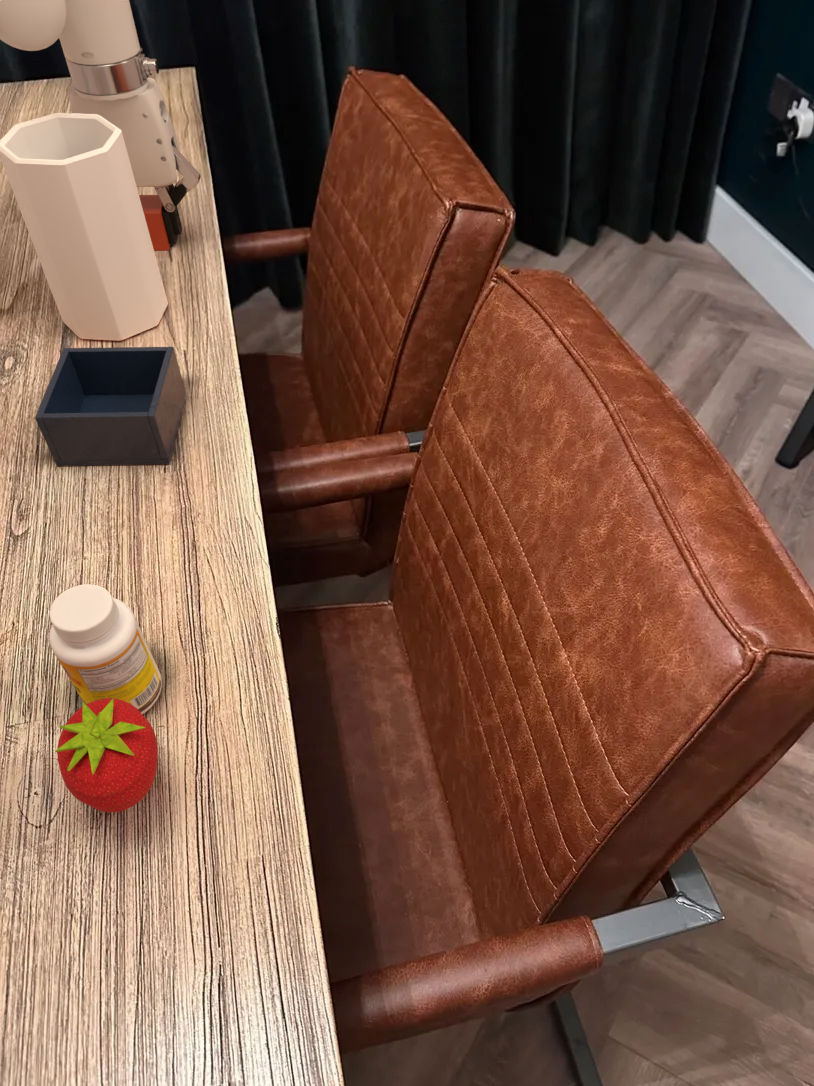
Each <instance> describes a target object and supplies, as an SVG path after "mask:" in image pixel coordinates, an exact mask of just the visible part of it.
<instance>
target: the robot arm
mask: <svg viewBox="0 0 814 1086" xmlns="http://www.w3.org/2000/svg"><path fill="white" fill-rule="evenodd" d="M135 24H136V23H135V20H134V16H133V11H132V7H131V2H130V0H0V41H1V42H3V43H4V44H6V45H8V46H10V47H12V48H15V49H18V50H21V51H28V52H35V51H36V52H37V51H41V50H45V49H48V48H49V47H50V46H52V45H54V44H55V43H56V42H57V40H59V41H60V46H61V48H62V52H63V55H64V58H65V62H66V66H67V68H68V72H69V75H70V78H71V83H70V84H69V87H68V95H69V103H70V104H69V105H70V113H77V114H97V115H100V116H102V117H103V118H104V119H106V120H107V121H109V122H110V123H112V124H113V125H115V126H116V127H117V128H119V129H120V130H121V131H122V134H123V138H124V142H125V146H126V149H127V153H128V157H129V160H130V164H131V168H132V171H133V175H134V179H135V183H136V186H137V188H154V190H155V192H156V195H158V196H159V198H160V200H161V202H162V204H163V212H162V217H163V221H164V225H165V229H166V233H167V237H168V241H169V244H171V245H170V246H176V245H177V242H178V240H179V239H178V238H179V235H182V233H183V224H182V221H181V216H180V212H179V208H178V206H179V204H180V203H181V202H182V200H183V199H184V198H185V196H186V194H188V193H189V192H190V191H191V190H193V189H194V188H195V187H196V186H198V184H199V183H200V181H201V173H200V172H199V171H198V170H197V169H196V167H194V165H192V164H191V162H190V161H189V160H188V159H187V158H186V156H185V155H183V154H182V152H181V149H180V146H179V142H178V138H177V135H176V132H175V129H174V125H173V122H172V119H171V115H170V113H169V110H168V106H167V104H166V101H165V99H164V96H163V94H162V91H161V89H160V87H159V85H158V81H157V80H156V79H154V78H153V77H149V76H152V75H159V74H160V66H159V62H158V59H156V58H150V57H147V56H146V54H145V53H144V50H143V48H142V47H141V45H140V42H139V41H140V40H139V37H138V33H137V32H138V31H137V28H136V25H135ZM177 172H179V175H181V177H182V178H181V179H180V180H178V181H177ZM175 183H176V184H175Z"/></svg>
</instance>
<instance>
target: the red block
mask: <svg viewBox="0 0 814 1086" xmlns="http://www.w3.org/2000/svg"><path fill="white" fill-rule="evenodd" d="M139 197H140V201H141V205H142V208H143V212H144V216H145V220H146V223H147V227H148V231H149V234H150V238H151V242H152V245H153V249H154V251H169V250H170V247H171V246H172V245H171V244H169V241H168V237H167V233H166V229H165V225H164V221H163V217H162V212H163V204H162V202H161V200H160V198H159V196H158V194H139Z"/></svg>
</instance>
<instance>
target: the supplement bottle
mask: <svg viewBox="0 0 814 1086" xmlns="http://www.w3.org/2000/svg"><path fill="white" fill-rule="evenodd" d="M48 614H49V620H50V622H51V627H50V628H49V629H50V630H49V637H48V639H49V646H50V648H51V650H52V652H53V654H54V656H55V658H56V659H57V661H58V663H59V664H60V666H61V667H62V669H63V670H64V672H65V674H66V675H67V677H68V679H69V680H70V683H71V684H72V686H73V687H74V689H75V690H76V692H77V694H78V695H79V697H80V699H81V700H82V703H83V702H84V703H85V704H88V703H90V702H93V701H95V700H99V699H104V698H115V699H120V700H123V701H126V702H128V703H130V704H131V705H133V706H134V707H136V708H137V709H138V710H139V711H140V712H141V713H142V714H143V715H144V714H145V713H146V712H147V711H149V710H150V709H151V708H152V707H153V706H154V705H155V704H156V702H157V701H158V698H159V696H160V695H161V691H162V688H163V687H162V686H163V678H162V675H161V672H160V670H159V666H158V665H157V663H156V660H155V658H154V656H153V654H152V651H151V649H150V646H149V644H148V642H147V640H146V638H145V636H144V634H143V631H142V629H141V626H140V624H139V622H138V620H137V618H136V615H135V614H134V612H133V610H132V608H131V607H129V606H128V605H127V603H125V602H124V601H122V600H120V599H118V598H115V597H113V596H112V594H111V593H110V591H108V590H107V589H106V588H105V587H103V586H101V585H98V584H92V583H91V584H90V583H86V584H85V583H84V584H79V585H75V586H72V587H70V588H67V589H66V590H64V591H63V592H61V593H60V594H59V595H57V596H56V597H55V599H54V600H53V602H52V603H51V605H50V608H49V612H48Z"/></svg>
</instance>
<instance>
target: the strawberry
mask: <svg viewBox="0 0 814 1086" xmlns="http://www.w3.org/2000/svg"><path fill="white" fill-rule="evenodd" d="M59 729H62V730H61V733H60V736H59V739H58V741H57V742H58V743H57V748H56V749H55V750H54V752H55V753H57V754H56V755H57V763H58V768H59V771H60V775H61V778H62V781H63V783H64V785H65V787H66V788H67V790H68V791H69V793H71V795H72V796H73V797H74V798H75V799H76V800H78V801H79V802H80V803H83V804H85V805H87V806H89V807H91V808H93V809H95V810H97V811H99V812H103V813H119V812H123V811H127V810H129V809H131V808H133V807H134V806H136V805H138V804H139V803H140V802H141V801H142V800H143V799H144V798H145V797H146V796H147V794H148V793H149V791H150V790H151V788H152V787H153V785H154V782H155V779H156V775H157V771H158V752H159V751H158V750H159V747H158V740H157V736H156V732H155V730H154V728H153V726H152V724H151V723H150V721H149V719H147V718H146V716H145V715H144V713H143V714H142V713H141V712H140V711H139V710H138V709H137V708H136V707H134V706H133V705H131V704H130V703H128V702H126V701H123V700H120V699H115V698H104V699H99V700H95V701H93V702H90V703H88V704H85V703H84V702H83V701H82V706H81V707H80V708H79V709H78V710H76V711H75V712H74V713H73V714H72V715H71V716H70V718H69V719H68V720H67V721H66V723H65V725H64V724H63V725H59Z"/></svg>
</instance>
